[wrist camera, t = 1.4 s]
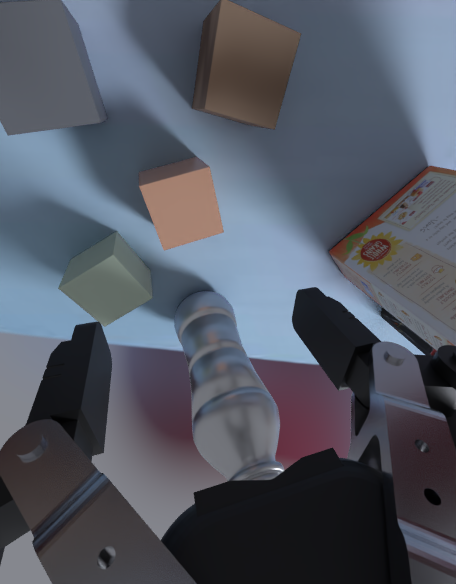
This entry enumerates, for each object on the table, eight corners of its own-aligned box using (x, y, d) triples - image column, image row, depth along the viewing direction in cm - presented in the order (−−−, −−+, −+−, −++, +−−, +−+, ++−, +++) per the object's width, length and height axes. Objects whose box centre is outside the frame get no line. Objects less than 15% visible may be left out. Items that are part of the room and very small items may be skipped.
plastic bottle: (235, 313, 33) (324, 498, 18) (186, 336, 33) (231, 544, 17) (216, 274, 29) (309, 468, 14) (160, 300, 29) (189, 526, 14)
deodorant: (379, 325, 44) (471, 407, 32) (382, 299, 40) (486, 380, 28) (412, 311, 44) (514, 386, 32) (417, 283, 40) (535, 357, 28)
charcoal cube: (-10, 31, 16) (-59, 6, 12) (78, 24, 17) (60, -2, 13) (35, 129, 19) (7, 135, 15) (108, 119, 20) (100, 122, 16)
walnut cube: (203, 21, 18) (221, -3, 14) (268, 48, 20) (301, 33, 16) (191, 108, 21) (204, 108, 17) (250, 125, 22) (274, 129, 18)
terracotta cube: (138, 172, 22) (139, 186, 18) (196, 156, 22) (209, 166, 19) (159, 227, 25) (163, 250, 21) (210, 212, 26) (223, 232, 22)
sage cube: (70, 258, 24) (58, 288, 20) (116, 230, 24) (113, 254, 20) (109, 295, 27) (104, 326, 23) (150, 270, 27) (152, 298, 23)
